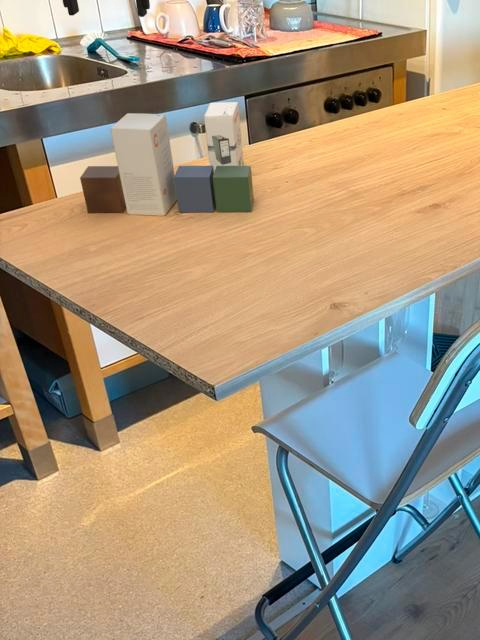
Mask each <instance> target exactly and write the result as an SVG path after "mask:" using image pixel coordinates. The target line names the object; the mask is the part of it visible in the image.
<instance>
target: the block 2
mask: <svg viewBox="0 0 480 640" xmlns="http://www.w3.org/2000/svg"><path fill="white" fill-rule="evenodd" d="M213 175H214V168H213V166H210V165H178V166H177V169H176V171H175V176H174V182H175V188H176V195H177V200H176V202H177V207H178V213H214V212H215V209H216V200H215V192H214V184H213Z"/></svg>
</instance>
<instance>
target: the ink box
mask: <svg viewBox="0 0 480 640" xmlns="http://www.w3.org/2000/svg"><path fill="white" fill-rule="evenodd" d="M239 107H240V106H239V103H238V102H237V101H227V102H226V101H222V102H221V101H220V102H210V103H209V105H208V107H207V109H206V110H205V111H206V112H205V113H204V116H203V120H204V128H205V129H204V130H205V137H206V146H207V151H208V152H207V153H208V161H209V166H213V168H214V172H215V169H216V166H245V164H244V153H243V152H244V151H243V143H242V141H243V140H242V131H241V120H240V118H241V117H240V109H239Z"/></svg>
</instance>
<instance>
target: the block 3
mask: <svg viewBox="0 0 480 640" xmlns="http://www.w3.org/2000/svg"><path fill="white" fill-rule="evenodd" d="M213 184H214V192H215V200H216V206H215V209H216V212H217V213H252V210H253V204H254V201H255V199H254V198H255V197H254V188H253V187H254V186H253V176H252V166H251V165H244V166H216V169H215V172H214V175H213Z"/></svg>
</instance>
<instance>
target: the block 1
mask: <svg viewBox="0 0 480 640" xmlns="http://www.w3.org/2000/svg"><path fill="white" fill-rule="evenodd" d="M79 180H80V184H81V188H82V193H83V197H84V201H85V206H86V210H87V213H88V214H119V213H120V214H122V213H123V214H124V211H125V210H126V204H125V199H124V194H123V189H122V184H121V179H120V174H119V169H118V165H98V166H97V165H88V166H87V167H86V168H85V170H84V171H83V173H82V174H81V176H80V177H79Z"/></svg>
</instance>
